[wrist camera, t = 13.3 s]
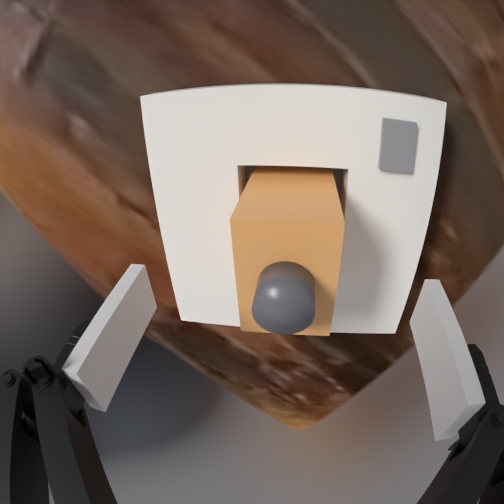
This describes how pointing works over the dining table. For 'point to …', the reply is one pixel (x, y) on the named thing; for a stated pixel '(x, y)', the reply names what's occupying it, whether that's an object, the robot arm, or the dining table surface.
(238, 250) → the plug
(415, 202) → the socket
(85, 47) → the dining table surface
